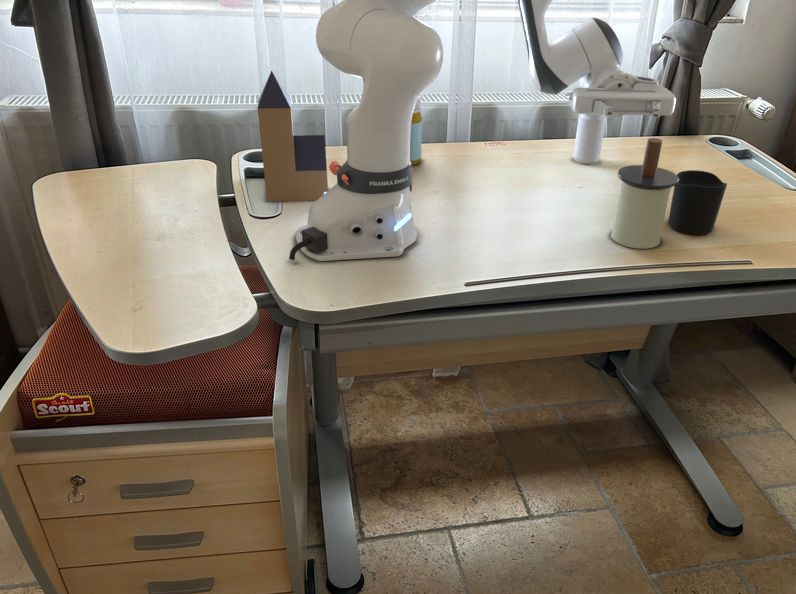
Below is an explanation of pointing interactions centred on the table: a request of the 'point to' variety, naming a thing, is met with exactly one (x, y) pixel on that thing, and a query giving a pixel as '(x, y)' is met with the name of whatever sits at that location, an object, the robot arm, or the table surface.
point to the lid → (649, 170)
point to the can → (640, 216)
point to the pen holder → (696, 202)
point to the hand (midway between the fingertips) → (633, 112)
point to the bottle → (416, 134)
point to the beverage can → (589, 138)
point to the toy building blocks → (288, 150)
